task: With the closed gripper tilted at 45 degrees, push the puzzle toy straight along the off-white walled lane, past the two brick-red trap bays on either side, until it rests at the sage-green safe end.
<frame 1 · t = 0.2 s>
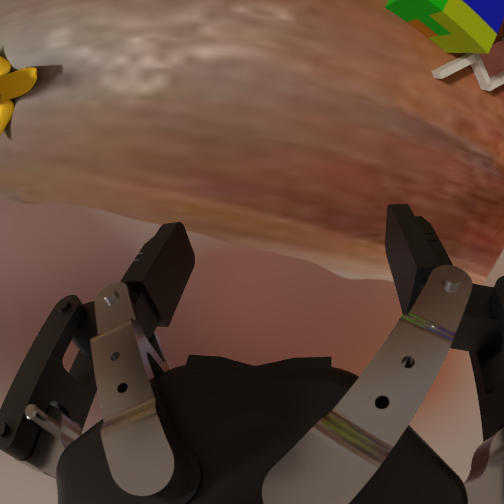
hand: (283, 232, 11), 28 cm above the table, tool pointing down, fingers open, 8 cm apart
puzzle toy: (429, 5, 22), on the table
banana peel: (8, 77, 31), on the table
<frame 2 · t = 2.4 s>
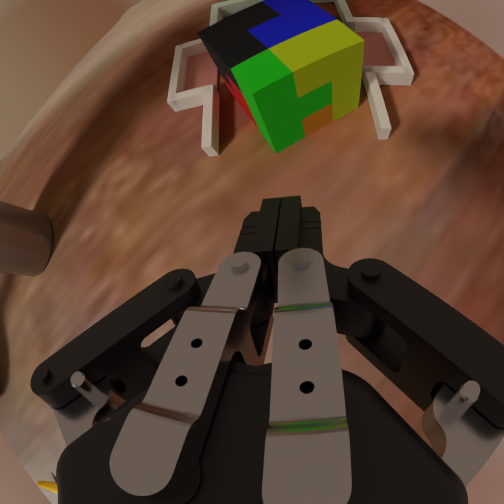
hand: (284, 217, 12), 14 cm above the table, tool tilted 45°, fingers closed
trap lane: (286, 59, 29), on the table
puzzle toy: (292, 98, 29), on the table
banana peel: (81, 499, 29), on the table
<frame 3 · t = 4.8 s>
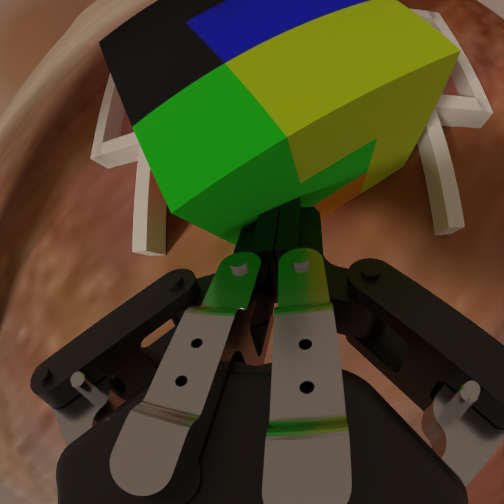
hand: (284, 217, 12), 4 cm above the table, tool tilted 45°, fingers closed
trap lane: (280, 74, 18), on the table
puzzle toy: (288, 144, 17), on the table, touching gripper
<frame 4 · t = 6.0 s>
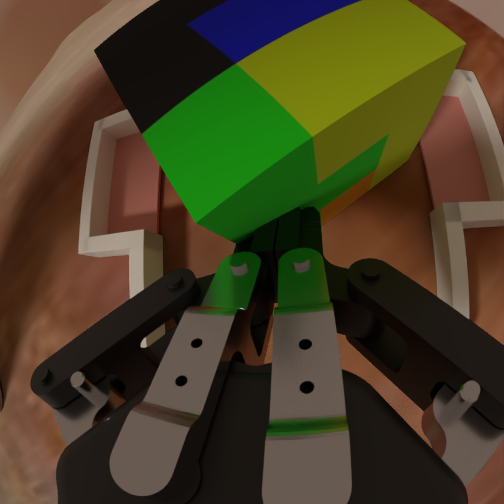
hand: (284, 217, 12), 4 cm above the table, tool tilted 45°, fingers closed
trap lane: (286, 157, 17), on the table
puzzle toy: (291, 145, 17), on the table, touching gripper
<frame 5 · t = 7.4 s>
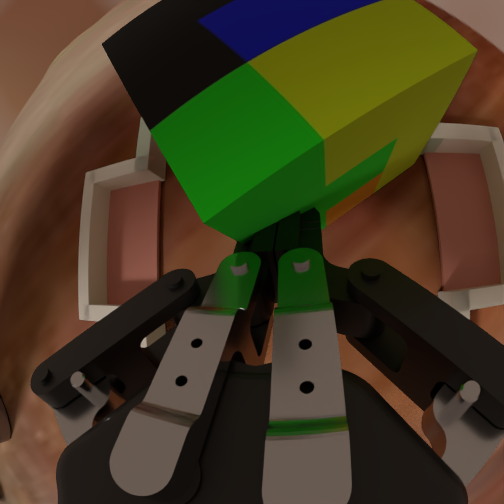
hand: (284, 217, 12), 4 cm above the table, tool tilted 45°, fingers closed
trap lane: (293, 229, 16), on the table
puzzle toy: (298, 145, 17), on the table, touching gripper, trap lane
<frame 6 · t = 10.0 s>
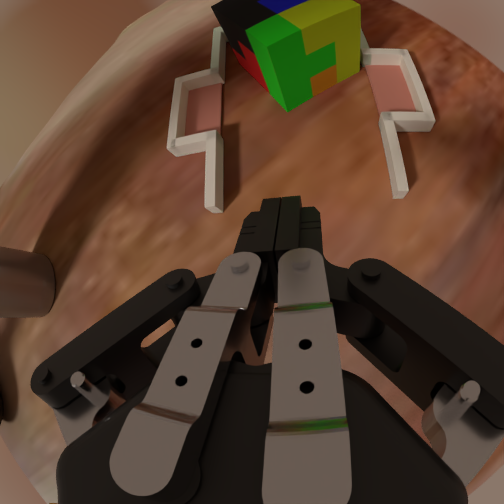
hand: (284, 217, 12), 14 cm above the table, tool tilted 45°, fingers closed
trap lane: (296, 98, 28), on the table
puzzle toy: (297, 66, 29), on the table
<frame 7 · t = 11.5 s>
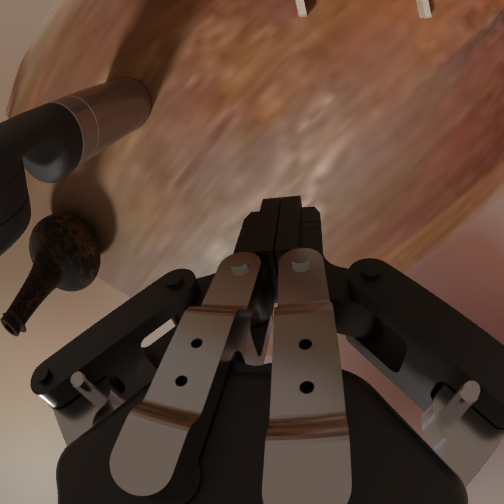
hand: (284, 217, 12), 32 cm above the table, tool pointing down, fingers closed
glass bottle: (79, 235, 60), on the table
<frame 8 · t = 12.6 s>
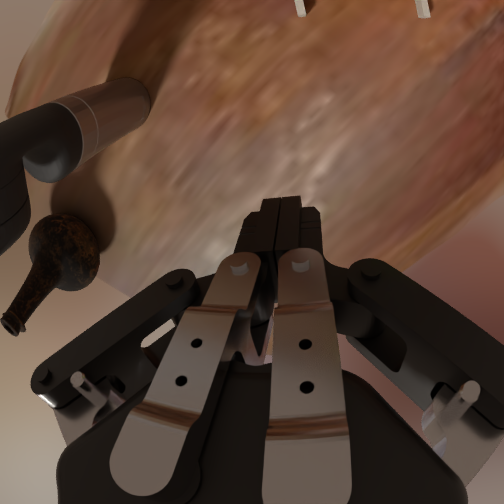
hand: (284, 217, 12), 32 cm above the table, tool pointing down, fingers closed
glass bottle: (78, 235, 59), on the table
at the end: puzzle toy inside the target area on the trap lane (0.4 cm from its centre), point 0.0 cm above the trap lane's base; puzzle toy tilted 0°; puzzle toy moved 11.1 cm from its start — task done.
